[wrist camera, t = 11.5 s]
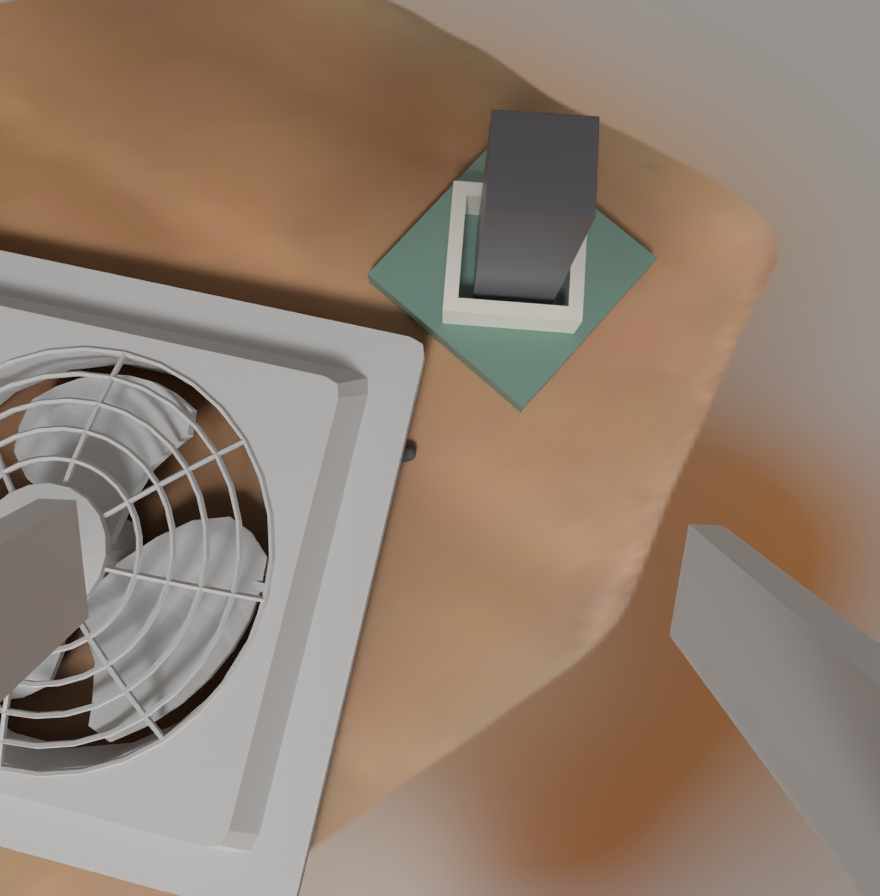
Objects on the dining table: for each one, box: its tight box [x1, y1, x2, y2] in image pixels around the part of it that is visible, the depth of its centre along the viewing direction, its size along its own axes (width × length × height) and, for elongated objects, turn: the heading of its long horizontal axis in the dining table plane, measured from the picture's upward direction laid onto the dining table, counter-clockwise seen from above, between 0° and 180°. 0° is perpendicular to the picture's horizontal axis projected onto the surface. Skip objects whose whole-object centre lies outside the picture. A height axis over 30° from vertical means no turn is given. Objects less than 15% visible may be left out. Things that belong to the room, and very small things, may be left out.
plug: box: [473, 110, 599, 305], centre depth 29 cm, size 4×5×10 cm
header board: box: [368, 149, 657, 412], centre depth 33 cm, size 12×12×3 cm
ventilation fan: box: [0, 250, 425, 896], centre depth 30 cm, size 30×6×30 cm
